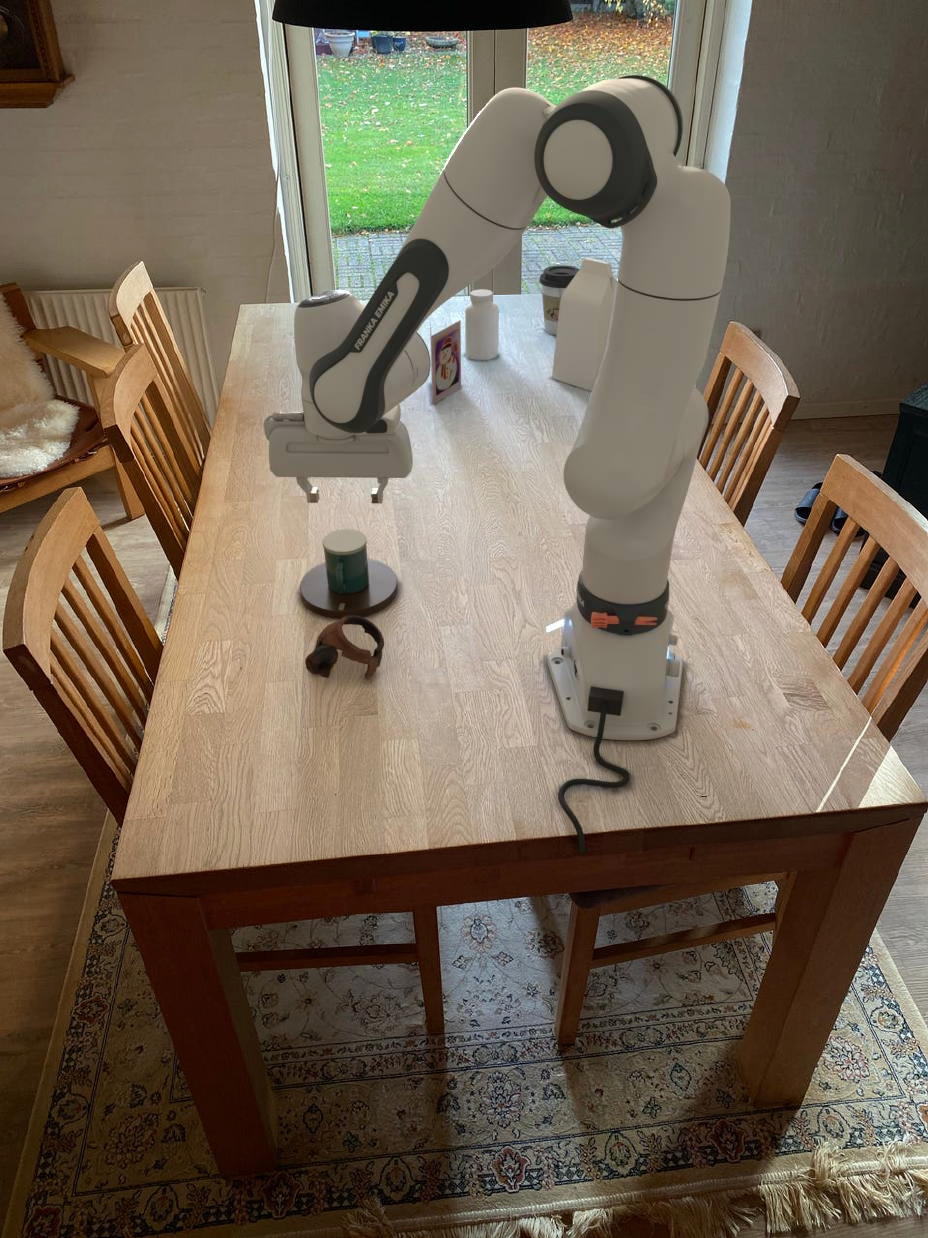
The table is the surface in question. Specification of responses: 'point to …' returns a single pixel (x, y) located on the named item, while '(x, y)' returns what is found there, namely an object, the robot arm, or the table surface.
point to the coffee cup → (554, 292)
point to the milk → (584, 324)
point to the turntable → (358, 603)
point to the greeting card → (446, 361)
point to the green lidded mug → (346, 560)
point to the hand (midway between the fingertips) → (345, 501)
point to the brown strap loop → (344, 647)
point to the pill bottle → (481, 326)
